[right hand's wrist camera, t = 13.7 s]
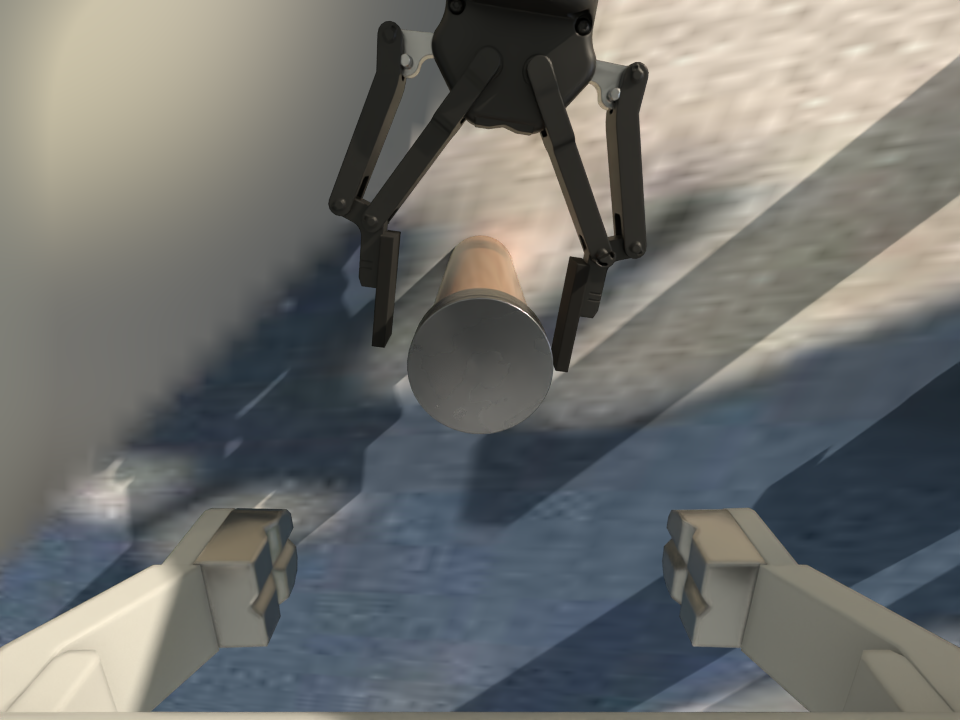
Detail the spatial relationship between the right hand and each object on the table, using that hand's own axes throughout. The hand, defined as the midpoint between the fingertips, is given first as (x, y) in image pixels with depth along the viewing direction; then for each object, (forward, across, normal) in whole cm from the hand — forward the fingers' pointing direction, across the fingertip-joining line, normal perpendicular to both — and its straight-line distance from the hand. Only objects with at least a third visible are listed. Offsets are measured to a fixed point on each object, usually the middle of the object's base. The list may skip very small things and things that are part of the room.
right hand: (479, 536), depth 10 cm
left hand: (+23, -1, -4) cm, 23 cm away
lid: (+9, 0, 0) cm, 9 cm away
